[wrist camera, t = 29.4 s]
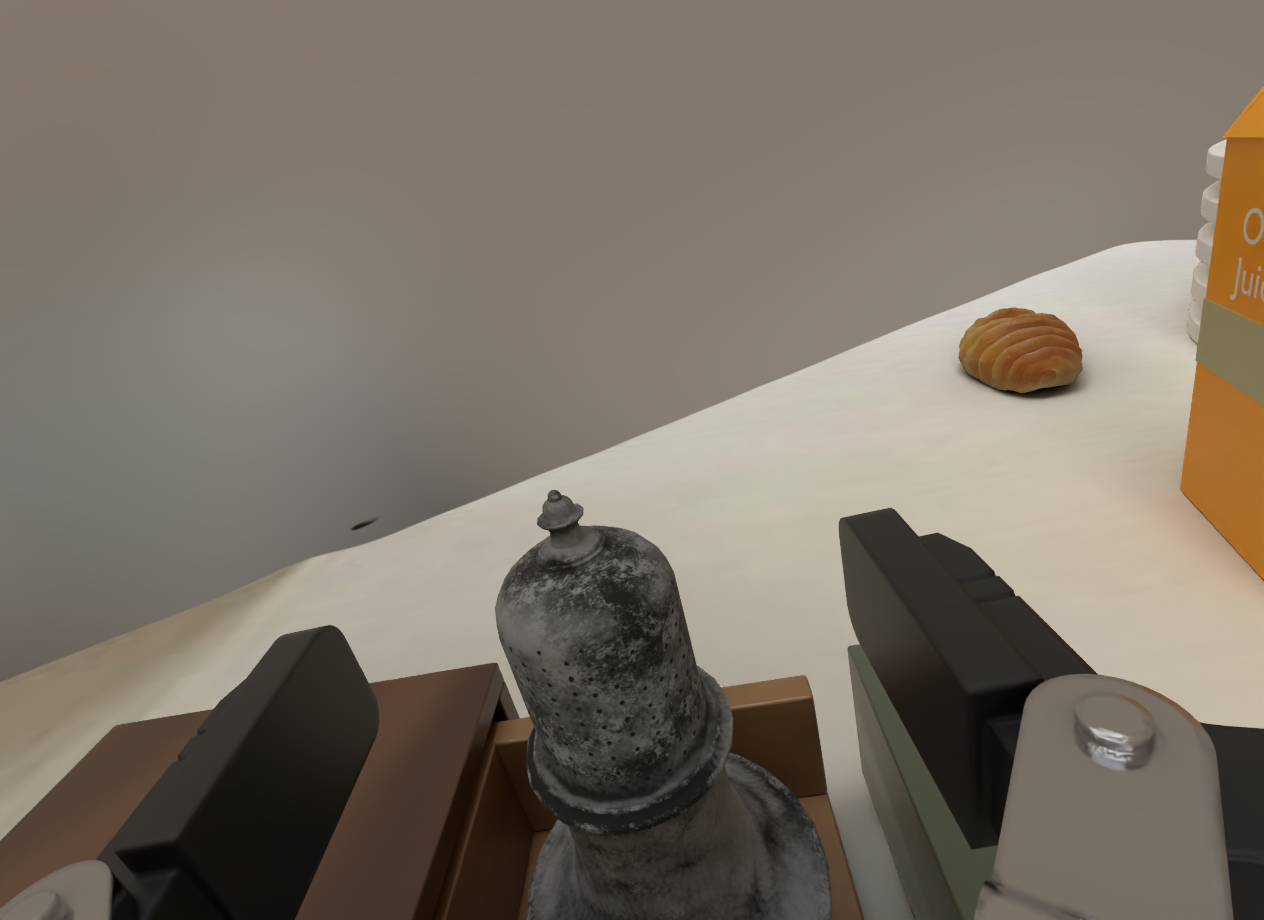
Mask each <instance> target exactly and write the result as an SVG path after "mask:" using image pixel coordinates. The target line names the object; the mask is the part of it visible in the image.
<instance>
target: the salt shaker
mask: <svg viewBox="0 0 1264 920" xmlns="http://www.w3.org/2000/svg"><path fill="white" fill-rule="evenodd" d="M582 515H583V507H582V506H580V505H579V504H573V502H572V501H571V499H570V498H568V497H567V496H564V495H561V494H560V492H559V491H556V490H551V491H550V492H549V493H548V499H547V500H546V501H545V503H544V504H543V513H542V514H541V515H540V516H539V517H538V521H537V525H538V526H540V527H541V528H542V529H545V530H549V531H550V536H549V537H547V538H546V539H545V540H543V541H541V542H540V543H538V544H537V545H535V546H534V547H533V548H531V549H530V550H529V551H528V552H527V553H526V554H525V555H524V556H523V557H522V558H521V559H520V560H519V561H518V562H517V563H516V564H515V565H514V566H513V567H512V568H511V569H510V571H509V573H508V574H507V576H506V577H505V579H504V582H503V584H502V587H501V589H500V592H499V595H498V599H497V603H496V607H495V612H496V621H497V628H498V633H499V638H500V642H501V644H502V647H503V649H504V652H505V654H506V657H507V659H508V662H509V664H510V667H511V669H512V672H513V674H514V677H515V680H516V682H517V685H518V687H519V690H520V692H521V695H522V697H523V700H524V702H525V705H526V707H527V710H528V713H529V715H530V718H531V720H532V723H533V725H534V726H533V728H532V731H531V733H530V736H529V738H528V744H527V752H526V761H525V762H526V767H527V772H528V777H529V782H530V786H531V788H532V790H533V791H534V793H535V794H536V796H537V798H538V799H539V801H540V803H541V804H542V806H543V808H544V809H546V810H547V811H548V812H549V813H551V814H552V815H553V816H554V817H556V818H557V819H558V820H557V822H556V823H555V825H554V827H553V828H552V830H551V832H550V833H549V835H548V837H547V838H546V840H545V842H544V844H543V845H542V847H541V850H540V853H539V856H538V859H537V862H536V865H535V868H534V871H533V874H532V877H531V880H530V883H529V892H528V902H527V912H526V920H831V914H832V899H831V886H830V874H829V864H828V860H827V857H826V854H825V852H824V849H823V846H822V843H821V840H820V837H819V834H818V832H817V829H816V826H815V824H814V822H813V821H812V819H811V818H810V816H809V815H808V813H807V812H806V810H805V809H804V807H803V806H802V804H801V803H800V801H799V800H798V798H797V797H796V795H795V794H794V793H793V792H792V791H791V790H790V789H789V788H788V787H786V786H785V785H784V784H783V783H782V782H781V781H780V780H779V779H777V778H776V777H775V776H774V775H773V774H772V773H771V772H769V771H768V770H767V769H765V768H763V767H761V766H759V765H757V764H755V763H753V762H751V761H749V760H747V759H745V758H743V757H742V756H740V755H737V754H733V753H730V751H731V748H732V743H733V724H734V721H733V717H732V713H731V710H730V706H729V703H728V699H727V696H726V695H725V693H724V692H723V690H722V689H721V687H720V686H719V685H718V683H717V682H716V680H715V679H714V678H713V677H711V676H710V675H709V674H708V673H706V672H705V671H704V670H703V669H701V668H700V667H699V666H697V665H696V661H695V657H694V653H693V649H692V645H691V641H690V637H689V632H688V628H687V624H686V620H685V616H684V612H683V608H682V604H681V599H680V595H679V591H678V587H677V583H676V579H675V575H674V571H673V570H672V568H671V566H670V564H669V562H668V560H667V558H666V557H665V556H664V554H663V553H662V552H661V551H660V549H659V548H658V547H657V546H655V545H654V544H652V543H651V542H649V541H648V540H646V539H645V538H643V537H642V536H640V535H638V534H637V533H635V532H633V531H629V530H625V529H622V528H616V527H607V526H579V524H578V520H579V519H580V518H581V517H582Z"/></svg>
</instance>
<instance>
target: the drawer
mask: <svg viewBox="0 0 1264 920" xmlns="http://www.w3.org/2000/svg"><path fill="white" fill-rule="evenodd" d="M848 657H849V665H850V674H851V682H852V690H853V699H854V707H855V716H856V724H857V732H858V741H859V749H860V758H861V766H862V772H863V775H864V778H865V781H866V784H867V786H868V789H869V792H870V795H871V798H872V800H873V803H874V806H875V809H876V812H877V814H878V817H879V820H880V823H881V825H882V828H883V831H884V834H885V837H886V839H887V842H888V845H889V848H890V851H891V853H892V856H893V859H894V862H895V865H896V867H897V870H898V873H899V876H900V879H901V881H902V884H903V887H904V890H905V893H906V895H907V898H908V901H909V904H910V907H911V909H912V912H913V915H914V918H915V920H974V916H975V911H976V907H977V903H978V899H979V895H980V892H981V889H982V886H983V884H984V882H985V881H988V882H990V880H991V877H992V874H993V869H994V864H995V859H996V854H997V849H998V845H996V846H990V847H985V848H979V849H973V850H971V848H970V846H969V844H968V842H967V841H966V839H965V837H964V835H963V833H962V831H961V829H960V828H959V826H958V824H957V822H956V820H955V818H954V817H953V815H952V813H951V811H950V809H949V807H948V806H947V804H946V802H945V800H944V798H943V796H942V794H941V793H940V791H939V789H938V787H937V785H936V783H935V782H934V780H933V778H932V776H931V774H930V772H929V770H928V769H927V767H926V765H925V763H924V761H923V759H922V758H921V756H920V754H919V752H918V750H917V748H916V747H915V745H914V743H913V741H912V739H911V737H910V735H909V734H908V732H907V730H906V728H905V726H904V724H903V723H902V721H901V719H900V717H899V715H898V713H897V711H896V710H895V708H894V706H893V704H892V702H891V700H890V699H889V697H888V695H887V693H886V691H885V689H884V687H883V686H882V684H881V682H880V680H879V678H878V676H877V675H876V673H875V671H874V669H873V667H872V665H871V664H870V662H869V660H868V658H867V656H866V654H865V652H864V651H863V649H862V647H861V645H853V646H849V647H848ZM721 689H722V690H723V692H724V693H725V695H726V696H727V699H728V703H729V706H730V710H731V713H732V717H733V721H734V724H733V743H732V748H731V751H730V753H733V754H737V755H740V756H742V757H743V758H745V759H747V760H749V761H751V762H753V763H755V764H757V765H759V766H761V767H763V768H765V769H767V770H768V771H769V772H771V773H772V774H773V775H774V776H775V777H776V778H777V779H779V780H780V781H781V782H782V783H783V784H784V785H785V786H786V787H788V788H789V789H790V790H791V791H792V792H793V793H794V794H795V795H796V797H797V798H798V800H799V801H800V803H801V804H802V806H803V807H804V809H805V810H806V812H807V813H808V815H809V816H810V818H811V819H812V821H813V822H814V824H815V826H816V829H817V832H818V834H819V837H820V840H821V843H822V846H823V849H824V852H825V854H826V857H827V860H828V864H829V874H830V886H831V899H832V914H831V920H864V917H863V914H862V910H861V907H860V903H859V900H858V896H857V893H856V890H855V886H854V883H853V879H852V876H851V872H850V869H849V865H848V862H847V858H846V855H845V851H844V848H843V844H842V841H841V837H840V834H839V831H838V827H837V824H836V820H835V817H834V813H833V810H832V806H831V803H830V799H829V796H828V792H827V784H826V778H825V771H824V765H823V758H822V751H821V745H820V738H819V732H818V725H817V719H816V712H815V706H814V699H813V695H812V692H811V688H810V685H809V682H808V679H807V677H806V676H805V675H801V676H795V677H788V678H782V679H775V680H769V681H762V682H756V683H749V684H743V685H736V686H730V687H723V688H721ZM533 726H534V725H533V723H532V720H531V718H530V717H527V718H521V719H514V720H508V721H501V722H494V723H491V725H490V728H489V731H488V735H487V738H486V741H485V745H484V748H483V751H482V755H481V758H480V761H479V765H478V768H477V771H476V774H475V778H474V781H473V784H472V788H471V791H470V794H469V798H468V801H467V804H466V808H465V811H464V814H463V818H462V821H461V824H460V827H459V831H458V834H457V837H456V841H455V844H454V847H453V851H452V854H451V857H450V861H449V864H448V867H447V871H446V874H445V877H444V880H443V884H442V887H441V890H440V894H439V897H438V900H437V904H436V907H435V910H434V914H433V917H432V920H526V912H527V902H528V892H529V883H530V880H531V877H532V874H533V871H534V868H535V865H536V862H537V859H538V856H539V853H540V850H541V847H542V845H543V844H544V842H545V840H546V838H547V837H548V835H549V833H550V832H551V830H552V828H553V827H554V825H555V823H556V822H557V820H558V819H557V818H556V817H554V816H553V815H552V814H551V813H549V812H548V811H547V810H546V809H544V808H543V806H542V804H541V803H540V801H539V799H538V798H537V796H536V794H535V793H534V791H533V790H532V788H531V786H530V782H529V777H528V772H527V767H526V762H525V761H526V752H527V744H528V738H529V736H530V733H531V731H532V728H533Z"/></svg>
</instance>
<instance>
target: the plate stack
mask: <svg viewBox="0 0 1264 920" xmlns="http://www.w3.org/2000/svg"><path fill="white" fill-rule="evenodd" d="M1226 141H1227V139H1226V140H1224V141H1221V142H1219V143H1217V144H1215V145H1214V146H1212V147H1211V148H1210V149H1209V150H1208V154H1207V162H1206V172H1207V174H1208V175H1210V176H1213V177H1216V178H1220V180H1219V181H1218V182H1215V183H1214V184H1212V185H1210V186H1209V187H1208V188H1206V189H1205V190H1204V192H1203V196H1202V205H1201V215H1202V217H1203V218H1205V219H1206V220H1208V221H1210V222H1209V223H1207V224H1205V225H1204V226H1203V227H1202V228H1201V229H1200V230H1199V233H1198V238H1197V245H1196V255H1197V257H1198V258H1199V260H1201V262H1200V263H1199V264H1198V265H1197V266H1196V268H1195V269H1194V272H1193V279H1192V287H1191V292H1192V295H1193V297H1194V298H1195V299H1194V300H1193V302H1192V303H1191V305H1190V307H1189V312H1188V320H1187V330H1188V333H1189V335H1190V337H1191V338H1192V339H1193V340H1194V341H1195V342H1196V343H1197V344H1198V338H1199V331H1200V323H1201V316H1202V308H1203V301H1204V298H1206V291H1207V283H1208V276H1209V268H1210V261H1211V253H1212V246H1213V238H1214V231H1215V223H1216V216H1217V208H1218V201H1219V193H1220V186H1221V178H1222V171H1223V163H1224V156H1225V148H1226Z"/></svg>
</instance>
